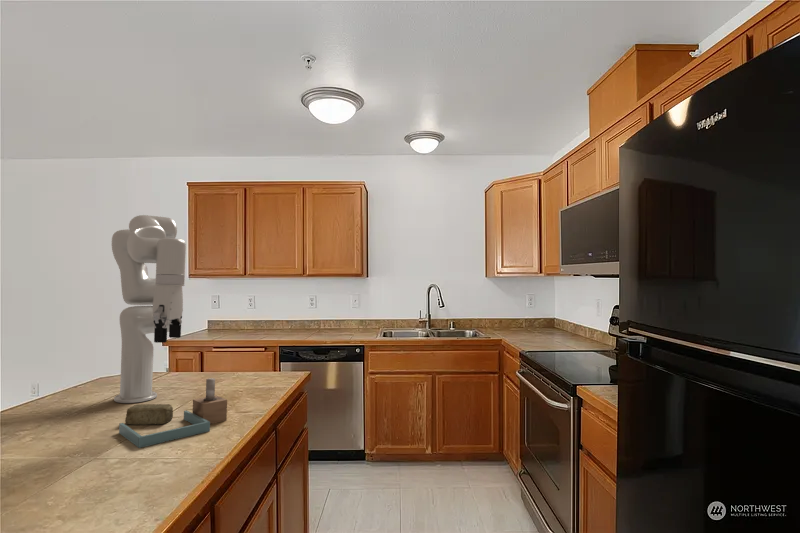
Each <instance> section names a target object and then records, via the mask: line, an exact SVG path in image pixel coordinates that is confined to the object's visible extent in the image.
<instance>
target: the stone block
mask: <svg viewBox="0 0 800 533" xmlns="http://www.w3.org/2000/svg"><path fill="white" fill-rule="evenodd" d="M173 418H174V408H173V406H172V404H169V403H167V404H165V403H164V404H163V403H148V404H147V403H144V404H143V403H140V404H134V405H132V406H130V407H129V408H127V409H126V416H125V420H124V422H125V423H124V424H125V425H133V426H138V425H139V426H142V425H143V426H146V425H147V426H149V425H151V426H152V425H156V424H157V426H158V425H164V424H167V423H169V422H170V421H171V420H172V419H173ZM168 421H169V422H168Z"/></svg>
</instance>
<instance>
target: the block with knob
mask: <svg viewBox="0 0 800 533" xmlns="http://www.w3.org/2000/svg"><path fill="white" fill-rule="evenodd" d="M205 382H206V383H205V385H206V386H205V397H198V398H193V399H192V413H193V414H195V415H197V416H199V417H201V418H203V419H205V420H207V421H209V422H210V425H213V424H216V423H220V422H226V421H227V419H228V418H227V417H228V399H226V398H224V397H222V396H219V395H215V394H216V392H215V391H216V378H213V377H210V378H206V381H205Z"/></svg>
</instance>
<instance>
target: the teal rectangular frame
mask: <svg viewBox="0 0 800 533" xmlns="http://www.w3.org/2000/svg"><path fill="white" fill-rule="evenodd" d="M183 420H184V421H186V422H187V421H188V423H189V422H190V423H189V424H191V425H185V426H181V427H177V428H176V427H175V428H173V429H168V430H163V431H159V432H154V433H150V434H145V435H141V434H140V433H138V432H137V431H135V430H133V428H131V427H130V426H128V424H126V423H124V422H120V423H119V425H118V426H119V428H118V434H119V435H121V436H122V437H124V438H125V439H126V440H128V441H129V442H130V443H132V444H133V445H134V446H136V447H137V448H138V449H140V448H145V447H148V446H153V445H158V444H162V443H165V441H166V442H170V441H174V439H175V440H178V439H181V438H186V437H191V436H195V435H199V434H203V433H207V432H210V431H211V424H210V422H209V421H207V420H205V419H203V418H201V417H199V416H197V415H195V414H193V412H191V411H189V410H184V411H183ZM169 440H170V441H169Z"/></svg>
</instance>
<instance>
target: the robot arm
mask: <svg viewBox="0 0 800 533" xmlns="http://www.w3.org/2000/svg"><path fill="white" fill-rule="evenodd" d="M177 233H178V227H177V223H176V222H175V220H174V219H172V218H170V217H168V216H155V215H147V214H143V215H136V216H134V217H133V218H131V220H130V221H129V223H128V229H119V230H117V231H115V232H114V233H113V235H112V237H111V252H112V254H113V257H114V261H115V262H116V264H117V266H118V269H119V274H120V275H119V276H120V283H121V284H120V285H121V293H122V294H121V296H122V300H123V302H124V303H125V304H127V305H132V306H128V307H126V308H124V309H123V310H121V311H120V314H119V327H120V335H121V336H120V337H121V350H120V351H121V353H120V354H121V356H120V358H121V359H120V378H119V379H120V381H119V384H120V385H119V394H117V395H115V396H114V397H113V398H114V400H113V401H114V402H116V403H120V404H134V403H136V404H137V403H141V402H142V403H143V402H147V401H152V400H154V399H156V398H157V397H158V393H157V392H156V391H153V376H154V375H153V371H154V370H153V369H154V344H153V343H152V341H151V340H150V339H149V338H148V336H146V335H147V334H153V336H154V337H153V338H154V339H153V342H154V343H157V344H158V343H163V344H164V343H167V340H168V337H169V338H170V339H174V338H175V339H176V338H178V339H179V338H181V336H182V323H183V321H182V318H183V311H184V310H183V309H184V308H183V305H184V304H183V303H184V302H183V300H184V299H183V296H184V295H183V287H184V286H185V281H186V280H185V276H186V254H187V253H186V250H187V244H186V241H185V240H184V239H181V238H176V237H177ZM147 264H155V267H156V268H155V278H152V277H151V278H150V277H149V272H148V266H147Z"/></svg>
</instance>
